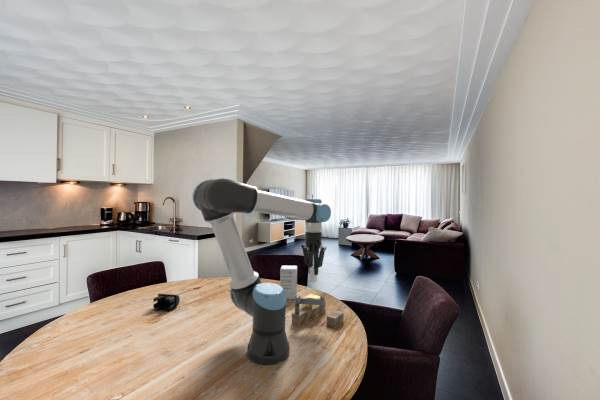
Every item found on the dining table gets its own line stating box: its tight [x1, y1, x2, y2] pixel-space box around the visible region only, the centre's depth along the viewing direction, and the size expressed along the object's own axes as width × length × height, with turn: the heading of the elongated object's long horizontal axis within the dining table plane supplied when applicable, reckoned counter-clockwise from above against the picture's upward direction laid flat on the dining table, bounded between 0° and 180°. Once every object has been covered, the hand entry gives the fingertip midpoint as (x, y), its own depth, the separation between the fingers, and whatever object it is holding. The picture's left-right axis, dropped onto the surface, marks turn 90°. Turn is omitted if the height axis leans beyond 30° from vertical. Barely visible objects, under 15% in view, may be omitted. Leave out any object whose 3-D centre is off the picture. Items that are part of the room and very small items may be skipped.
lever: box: [293, 295, 326, 307], centre depth 122 cm, size 14×3×4 cm, turn 83°
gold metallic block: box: [300, 293, 320, 310], centre depth 131 cm, size 8×6×4 cm
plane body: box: [291, 293, 327, 328], centre depth 130 cm, size 22×4×9 cm, turn 144°
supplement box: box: [279, 264, 298, 300], centre depth 158 cm, size 10×9×17 cm
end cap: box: [152, 293, 181, 313], centre depth 138 cm, size 10×7×7 cm
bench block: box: [326, 310, 345, 328], centre depth 125 cm, size 8×4×4 cm, turn 144°
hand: (313, 281), depth 131 cm, fingers closed
